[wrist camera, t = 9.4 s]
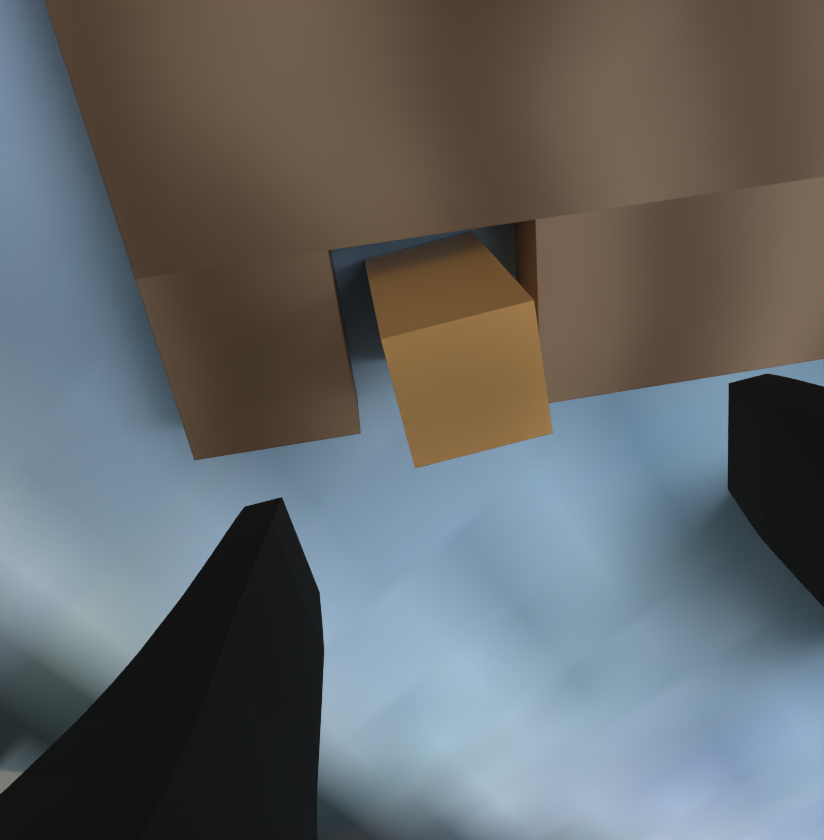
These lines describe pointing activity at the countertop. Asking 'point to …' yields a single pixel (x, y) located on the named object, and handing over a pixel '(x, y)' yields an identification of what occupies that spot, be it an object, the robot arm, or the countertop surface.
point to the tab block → (459, 348)
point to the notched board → (456, 182)
